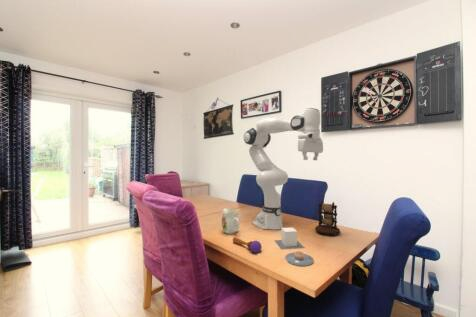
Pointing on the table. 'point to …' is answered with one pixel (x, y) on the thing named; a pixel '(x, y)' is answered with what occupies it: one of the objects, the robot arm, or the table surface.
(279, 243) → the mat
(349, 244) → the table surface
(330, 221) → the wooden spool stand
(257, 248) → the kendama
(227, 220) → the pitcher
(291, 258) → the pot lid
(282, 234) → the cover
